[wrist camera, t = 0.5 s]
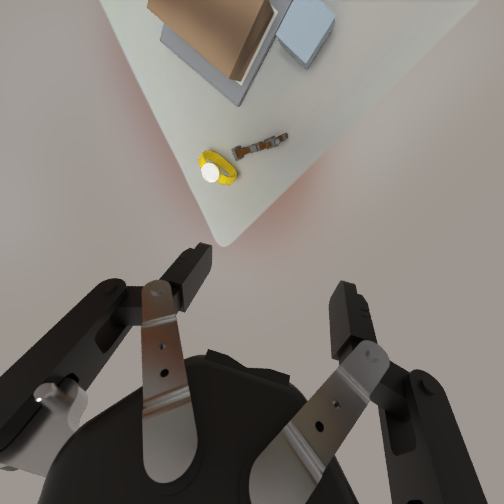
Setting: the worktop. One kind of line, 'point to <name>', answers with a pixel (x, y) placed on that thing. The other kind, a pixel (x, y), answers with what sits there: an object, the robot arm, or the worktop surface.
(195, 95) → the worktop surface
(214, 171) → the watch
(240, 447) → the robot arm
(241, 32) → the walnut block
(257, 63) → the build pad
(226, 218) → the worktop surface
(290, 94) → the worktop surface
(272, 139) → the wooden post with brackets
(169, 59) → the worktop surface
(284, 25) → the gray block
